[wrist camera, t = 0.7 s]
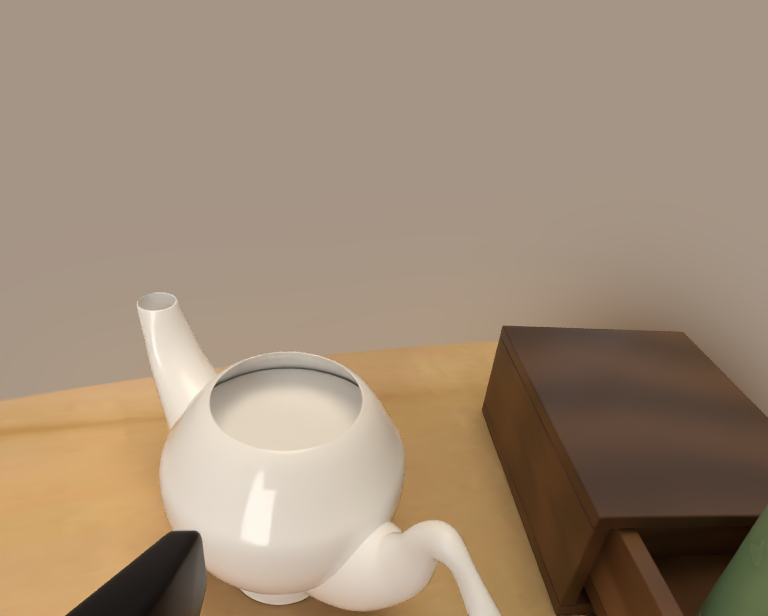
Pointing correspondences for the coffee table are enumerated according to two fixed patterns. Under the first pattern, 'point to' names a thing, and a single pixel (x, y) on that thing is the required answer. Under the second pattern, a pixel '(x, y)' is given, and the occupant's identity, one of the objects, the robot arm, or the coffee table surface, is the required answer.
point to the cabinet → (618, 442)
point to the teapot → (291, 477)
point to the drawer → (660, 569)
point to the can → (743, 578)
